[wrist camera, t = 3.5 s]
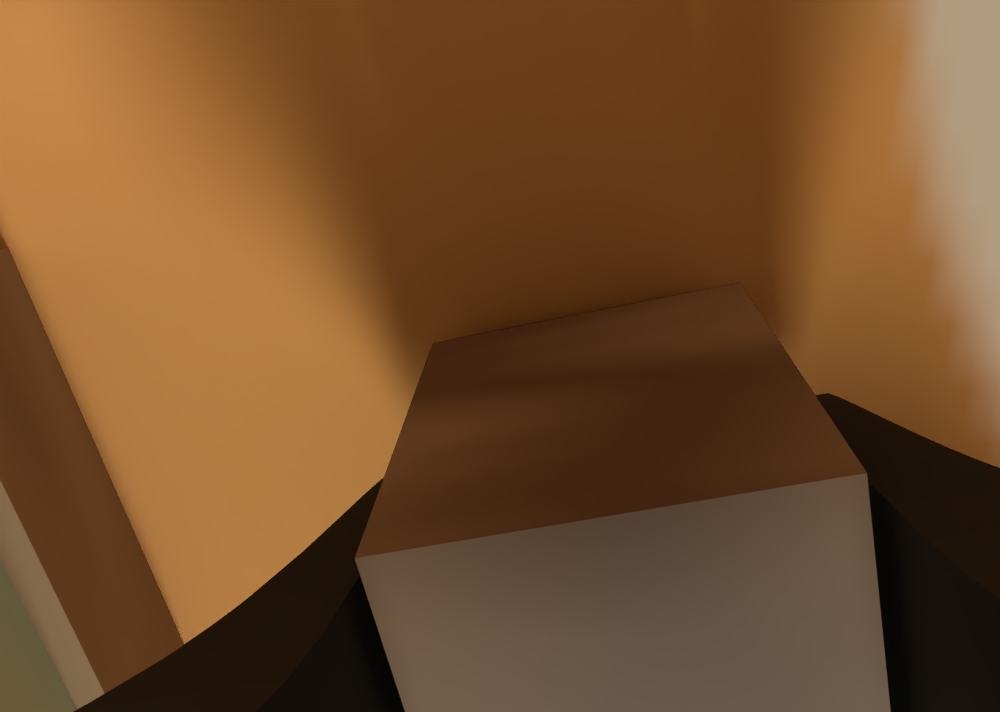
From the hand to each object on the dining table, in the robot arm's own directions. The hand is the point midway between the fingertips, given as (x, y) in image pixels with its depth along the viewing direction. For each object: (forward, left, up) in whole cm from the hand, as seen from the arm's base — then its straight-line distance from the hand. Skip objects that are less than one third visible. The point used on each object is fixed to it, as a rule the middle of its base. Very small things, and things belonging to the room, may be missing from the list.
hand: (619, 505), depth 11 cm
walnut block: (0, 0, -2) cm, 2 cm away
